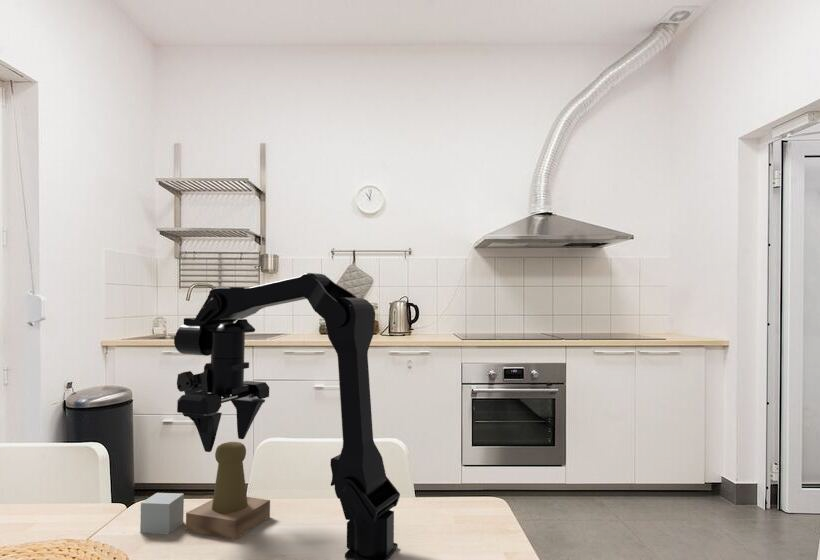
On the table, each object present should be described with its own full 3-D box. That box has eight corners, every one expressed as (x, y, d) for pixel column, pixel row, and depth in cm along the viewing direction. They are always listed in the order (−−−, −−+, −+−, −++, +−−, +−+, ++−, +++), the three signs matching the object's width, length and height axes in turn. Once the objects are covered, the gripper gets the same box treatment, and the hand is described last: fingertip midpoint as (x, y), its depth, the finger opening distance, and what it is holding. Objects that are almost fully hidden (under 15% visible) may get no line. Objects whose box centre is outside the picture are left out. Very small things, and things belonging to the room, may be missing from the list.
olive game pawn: (236, 514, 93) (238, 448, 93) (204, 511, 94) (205, 446, 94) (253, 501, 99) (254, 439, 99) (223, 499, 100) (224, 438, 100)
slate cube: (183, 522, 97) (183, 493, 97) (168, 534, 92) (169, 504, 92) (156, 521, 97) (156, 492, 98) (140, 533, 92) (140, 503, 93)
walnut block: (269, 516, 99) (270, 500, 99) (235, 539, 90) (235, 520, 90) (223, 509, 103) (224, 493, 103) (185, 530, 93) (186, 512, 93)
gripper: (223, 350, 110) (221, 429, 109) (152, 360, 92) (149, 453, 92) (271, 353, 106) (269, 434, 106) (206, 363, 89) (204, 461, 88)
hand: (225, 445), depth 98 cm, fingers open, 9 cm apart
